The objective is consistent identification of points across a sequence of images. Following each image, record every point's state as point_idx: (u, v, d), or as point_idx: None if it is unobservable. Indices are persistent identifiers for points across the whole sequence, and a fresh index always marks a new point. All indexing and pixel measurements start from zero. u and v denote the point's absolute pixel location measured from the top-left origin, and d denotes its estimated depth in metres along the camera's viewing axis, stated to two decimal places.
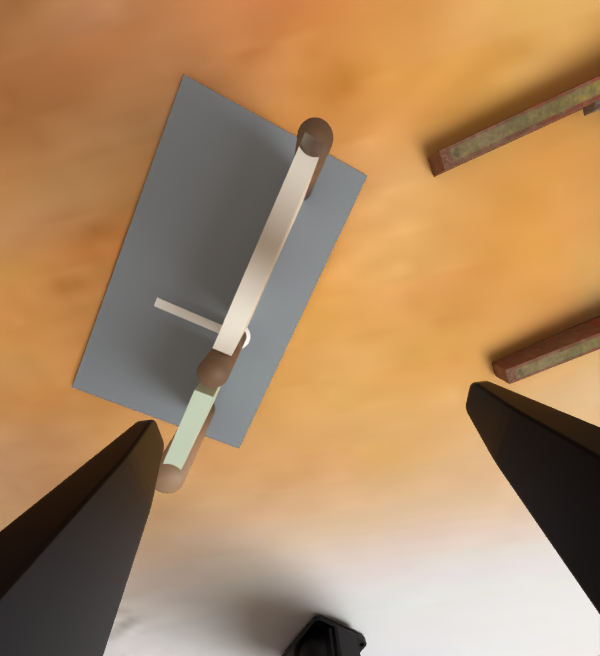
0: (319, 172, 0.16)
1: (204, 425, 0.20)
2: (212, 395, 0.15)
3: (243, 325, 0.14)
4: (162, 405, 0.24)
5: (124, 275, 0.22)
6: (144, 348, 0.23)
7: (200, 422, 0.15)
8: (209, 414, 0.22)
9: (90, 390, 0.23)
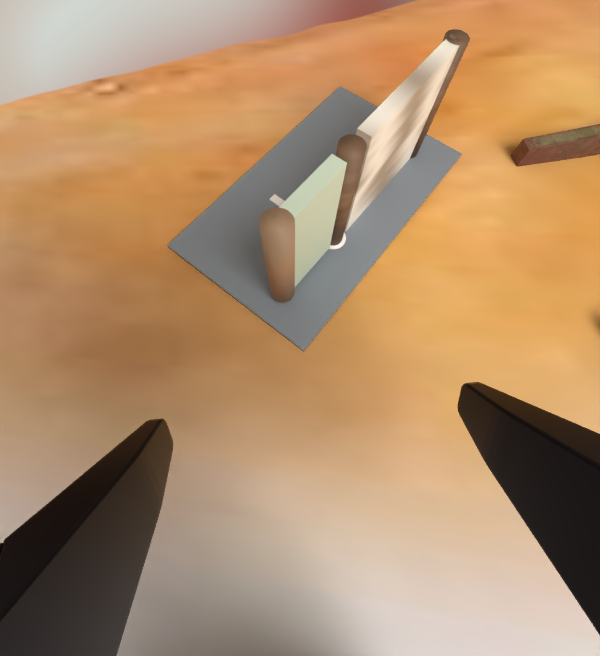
0: (443, 92, 0.22)
1: (294, 268, 0.19)
2: None
3: (386, 120, 0.17)
4: (240, 282, 0.23)
5: (254, 175, 0.26)
6: (246, 229, 0.24)
7: (328, 180, 0.15)
8: (294, 279, 0.21)
9: (181, 252, 0.23)
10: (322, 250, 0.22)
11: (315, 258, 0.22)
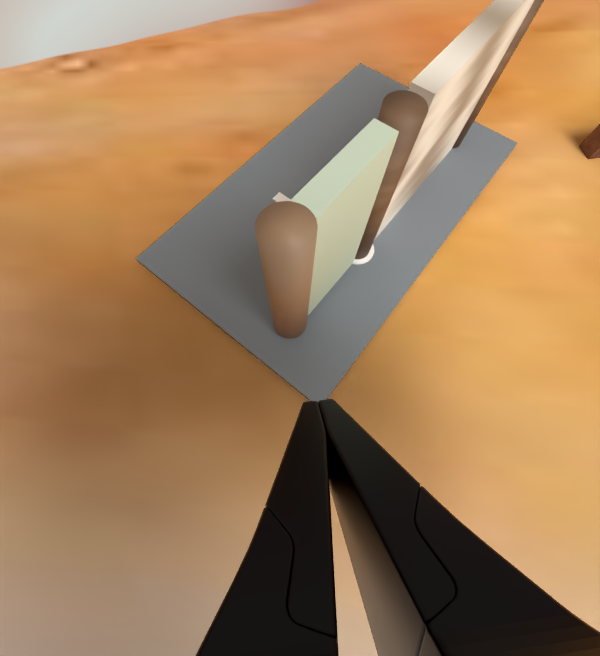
0: (511, 54, 0.16)
1: None
2: None
3: (455, 71, 0.11)
4: (233, 308, 0.17)
5: (254, 168, 0.20)
6: (242, 237, 0.18)
7: (371, 158, 0.09)
8: None
9: (154, 267, 0.17)
10: (345, 266, 0.16)
11: (335, 277, 0.16)
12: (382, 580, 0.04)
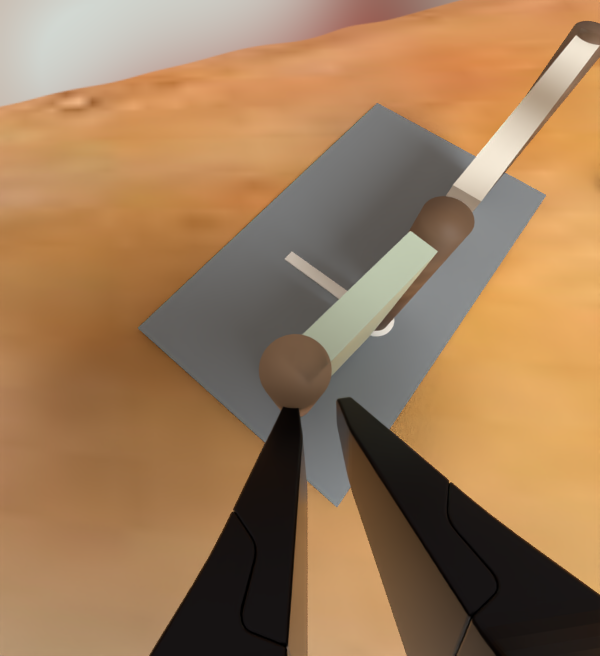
0: (549, 117, 0.15)
1: None
2: None
3: (502, 169, 0.10)
4: (242, 387, 0.15)
5: (264, 223, 0.19)
6: (252, 303, 0.17)
7: (402, 284, 0.08)
8: None
9: (157, 338, 0.16)
10: (360, 344, 0.15)
11: (349, 356, 0.15)
12: (415, 575, 0.04)
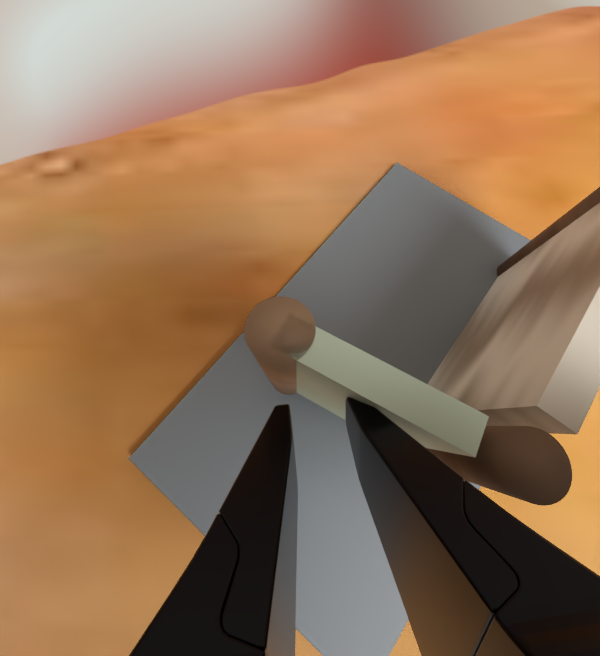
0: None
1: (293, 386, 0.12)
2: None
3: (599, 375, 0.07)
4: None
5: None
6: (260, 424, 0.15)
7: (410, 418, 0.07)
8: (294, 390, 0.13)
9: (151, 472, 0.14)
10: None
11: (345, 418, 0.14)
12: (431, 572, 0.04)
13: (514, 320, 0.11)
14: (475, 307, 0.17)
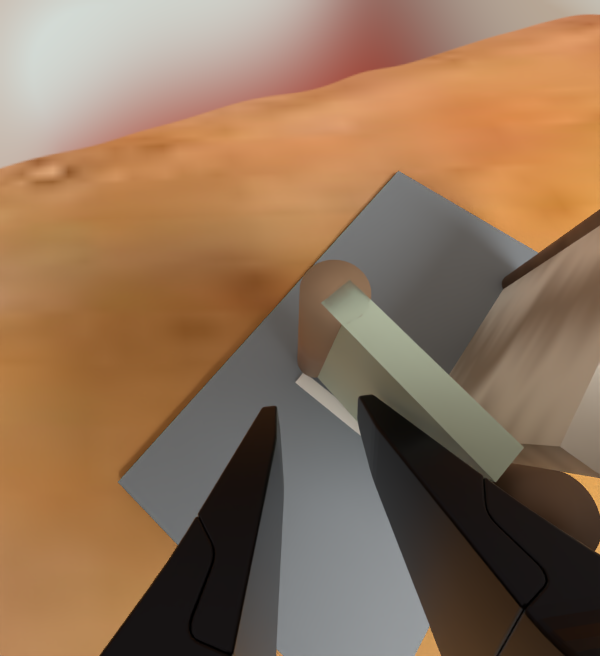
0: None
1: (320, 364, 0.12)
2: None
3: None
4: None
5: (270, 333, 0.16)
6: None
7: (438, 419, 0.06)
8: (317, 371, 0.13)
9: (142, 497, 0.13)
10: None
11: None
12: (453, 569, 0.04)
13: (525, 341, 0.11)
14: (480, 321, 0.16)
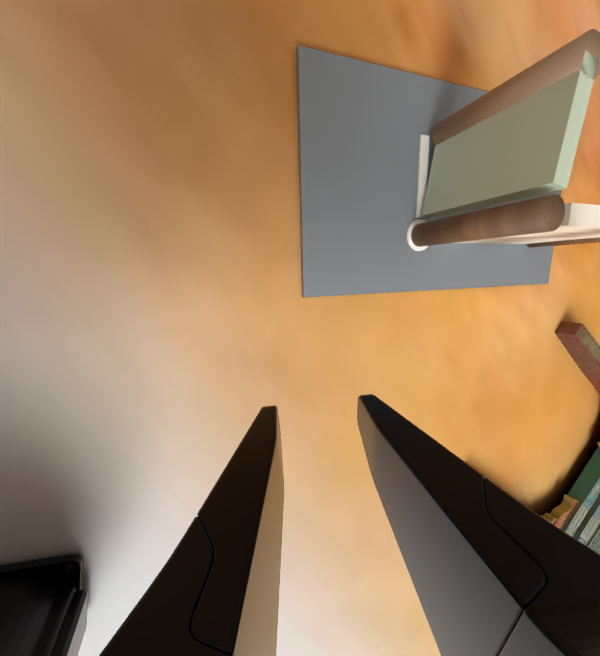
0: None
1: (476, 121, 0.17)
2: (550, 183, 0.13)
3: (589, 225, 0.14)
4: (320, 179, 0.18)
5: (437, 92, 0.20)
6: (376, 136, 0.19)
7: (563, 145, 0.13)
8: (454, 133, 0.18)
9: (303, 73, 0.17)
10: (435, 196, 0.19)
11: (437, 182, 0.19)
12: (453, 569, 0.04)
13: None
14: None
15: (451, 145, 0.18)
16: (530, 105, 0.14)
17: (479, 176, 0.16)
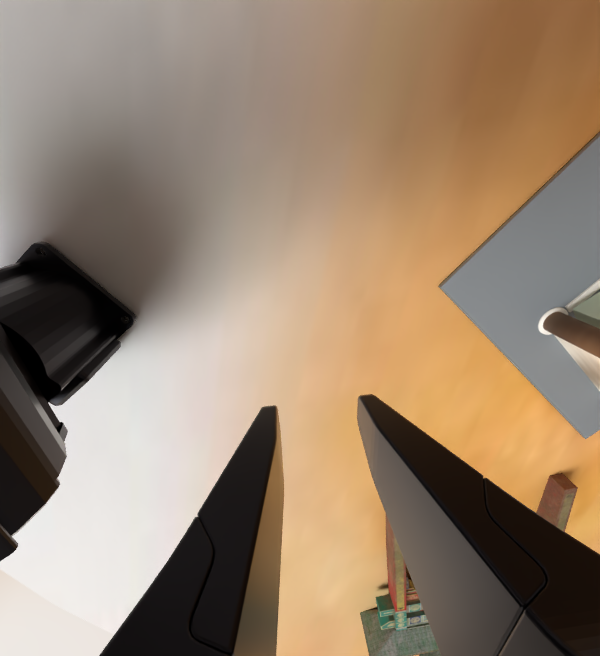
0: None
1: None
2: None
3: None
4: (542, 214, 0.18)
5: None
6: None
7: None
8: None
9: None
10: None
11: None
12: (454, 569, 0.04)
13: None
14: None
15: None
16: None
17: None
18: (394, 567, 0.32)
